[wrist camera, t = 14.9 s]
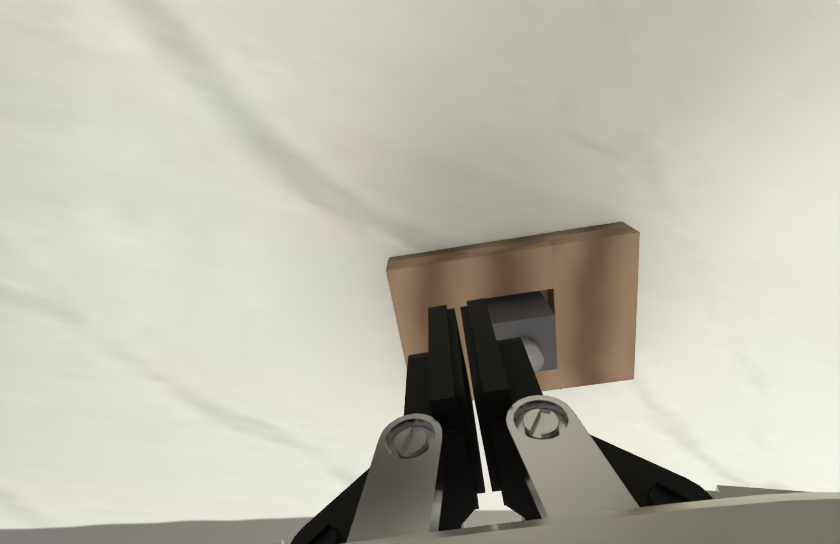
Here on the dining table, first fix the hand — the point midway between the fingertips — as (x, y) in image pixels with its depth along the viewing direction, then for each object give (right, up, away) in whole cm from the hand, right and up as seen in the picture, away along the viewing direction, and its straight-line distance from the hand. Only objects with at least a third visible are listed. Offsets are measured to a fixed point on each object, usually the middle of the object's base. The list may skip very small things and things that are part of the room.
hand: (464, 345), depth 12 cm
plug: (+7, -2, +25) cm, 26 cm away
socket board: (+7, -1, +26) cm, 27 cm away
